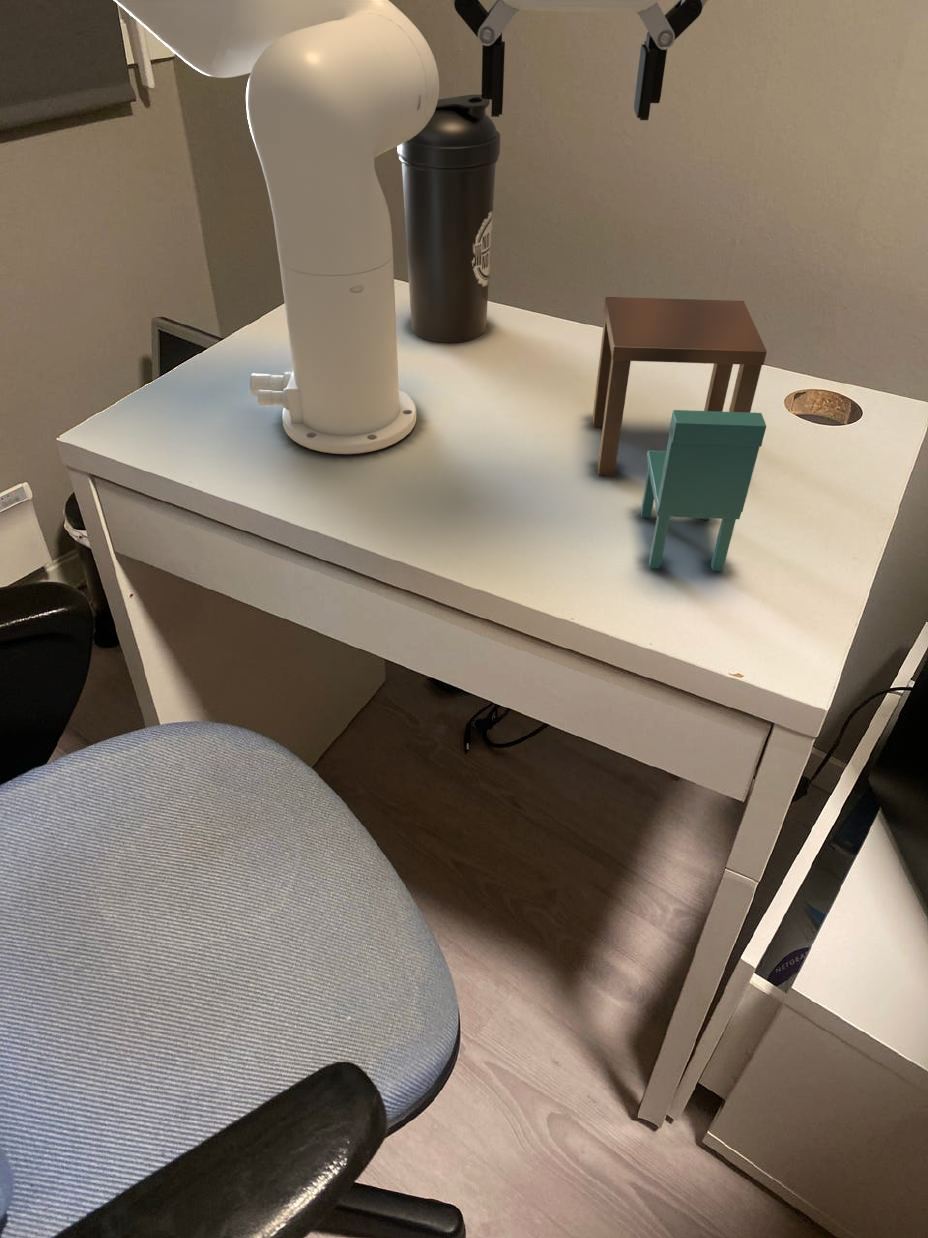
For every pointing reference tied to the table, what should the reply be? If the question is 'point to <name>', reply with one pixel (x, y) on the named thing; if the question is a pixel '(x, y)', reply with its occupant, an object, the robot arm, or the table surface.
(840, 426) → the table surface
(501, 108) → the robot arm
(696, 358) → the side table
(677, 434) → the chair
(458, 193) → the water bottle
